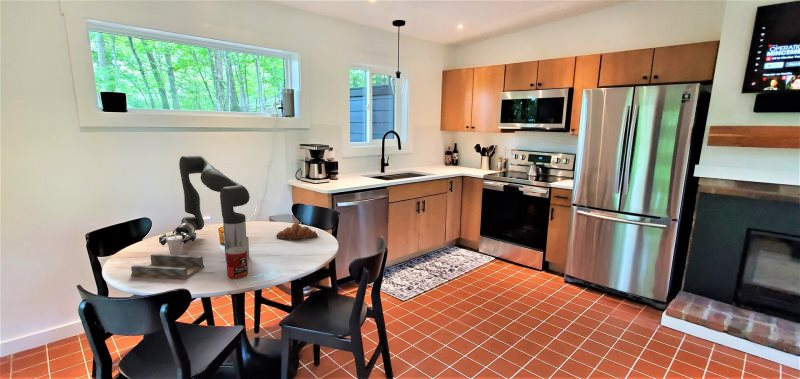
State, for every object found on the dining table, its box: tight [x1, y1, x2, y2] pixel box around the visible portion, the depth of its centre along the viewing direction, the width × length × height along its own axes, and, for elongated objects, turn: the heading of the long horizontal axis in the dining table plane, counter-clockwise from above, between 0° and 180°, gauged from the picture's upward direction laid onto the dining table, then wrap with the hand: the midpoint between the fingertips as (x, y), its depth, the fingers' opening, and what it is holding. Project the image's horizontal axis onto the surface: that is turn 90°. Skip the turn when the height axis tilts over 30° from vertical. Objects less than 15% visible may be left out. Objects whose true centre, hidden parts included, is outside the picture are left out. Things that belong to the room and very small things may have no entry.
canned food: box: [225, 246, 249, 280], centre depth 150 cm, size 8×8×11 cm
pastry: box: [275, 222, 319, 241], centre depth 202 cm, size 17×15×8 cm
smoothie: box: [166, 227, 183, 255], centre depth 167 cm, size 6×6×14 cm
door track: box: [130, 253, 205, 281], centre depth 153 cm, size 22×13×5 cm, turn 86°
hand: (173, 242), depth 165 cm, fingers open, 8 cm apart
